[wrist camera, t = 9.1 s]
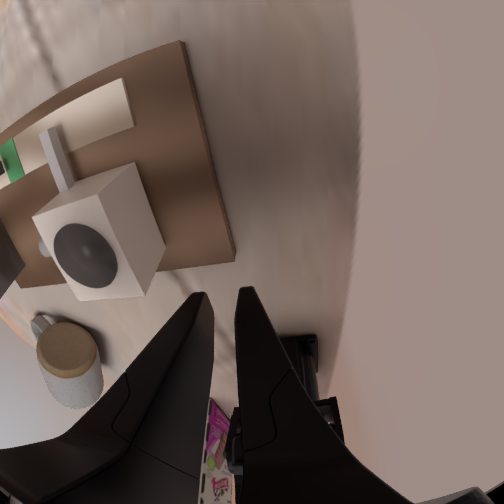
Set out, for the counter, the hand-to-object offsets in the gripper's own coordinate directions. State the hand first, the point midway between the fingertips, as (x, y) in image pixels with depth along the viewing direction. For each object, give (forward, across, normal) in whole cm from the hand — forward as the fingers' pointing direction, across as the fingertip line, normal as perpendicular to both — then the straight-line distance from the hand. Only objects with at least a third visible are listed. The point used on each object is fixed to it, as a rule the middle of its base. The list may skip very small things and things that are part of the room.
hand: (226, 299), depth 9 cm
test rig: (+10, +13, -2) cm, 16 cm away
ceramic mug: (+10, +24, +14) cm, 29 cm away
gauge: (+9, +10, -2) cm, 13 cm away
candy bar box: (+10, +12, +32) cm, 36 cm away
